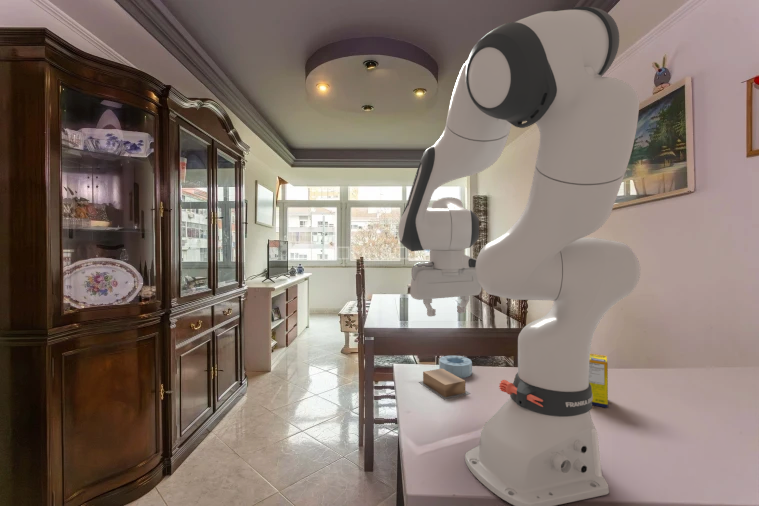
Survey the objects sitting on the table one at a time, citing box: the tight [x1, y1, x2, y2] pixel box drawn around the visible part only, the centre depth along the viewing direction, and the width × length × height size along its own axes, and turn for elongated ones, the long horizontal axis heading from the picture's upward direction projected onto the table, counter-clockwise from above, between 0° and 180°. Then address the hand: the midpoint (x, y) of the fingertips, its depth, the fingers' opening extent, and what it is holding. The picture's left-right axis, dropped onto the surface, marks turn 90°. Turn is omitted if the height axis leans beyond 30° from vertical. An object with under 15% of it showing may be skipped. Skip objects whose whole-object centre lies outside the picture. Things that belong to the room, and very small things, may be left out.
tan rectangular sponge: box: [422, 368, 466, 397], centre depth 88 cm, size 6×10×3 cm, turn 25°
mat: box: [418, 380, 471, 400], centre depth 88 cm, size 8×12×1 cm, turn 25°
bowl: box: [438, 355, 473, 379], centre depth 100 cm, size 9×9×4 cm
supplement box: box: [589, 353, 609, 409], centre depth 83 cm, size 6×6×11 cm
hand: (446, 314), depth 88 cm, fingers open, 8 cm apart
